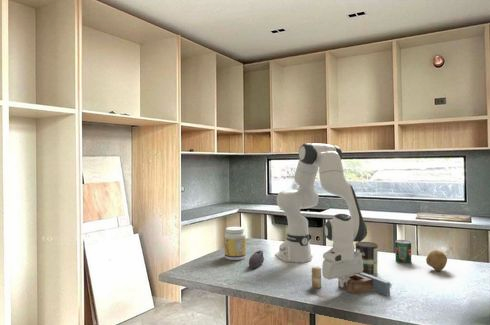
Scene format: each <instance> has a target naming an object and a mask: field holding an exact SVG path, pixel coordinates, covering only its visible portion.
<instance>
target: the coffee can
mask: <svg viewBox="0 0 490 325" xmlns="http://www.w3.org/2000/svg"><path fill="white" fill-rule="evenodd" d="M354 246H355V251H359V252H361V254H362V260H363V273H366V274H369V275H371V276H374V277H377V275H378V274H379V273H378V247H379V246H378V244H377V243H375V242H370V241H361V242H355V244H354Z"/></svg>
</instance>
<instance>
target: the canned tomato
mask: <svg viewBox="0 0 490 325" xmlns="http://www.w3.org/2000/svg"><path fill="white" fill-rule="evenodd" d="M394 242H395V243H394V244H395V252H394V253H395V262H396V264H401V265H402V264H403V265H411V264H412V262H413V261H412V241H410V240H405V239H396V240H395V241H394Z"/></svg>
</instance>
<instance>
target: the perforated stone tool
mask: <svg viewBox="0 0 490 325" xmlns="http://www.w3.org/2000/svg"><path fill="white" fill-rule="evenodd" d="M264 260H265V256H264V251H263V250H260V249H259V250H258V251H255V252H254V253H253V254H252V255H251V256H250V258H249V260H248V267H249V268H250V269H256V268H258V267H259V266H261V265H262V264H263V263H264Z"/></svg>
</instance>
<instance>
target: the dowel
mask: <svg viewBox="0 0 490 325" xmlns="http://www.w3.org/2000/svg"><path fill="white" fill-rule="evenodd" d="M311 288H315V289H320V288H322V267H319V266H313V267H311Z"/></svg>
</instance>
